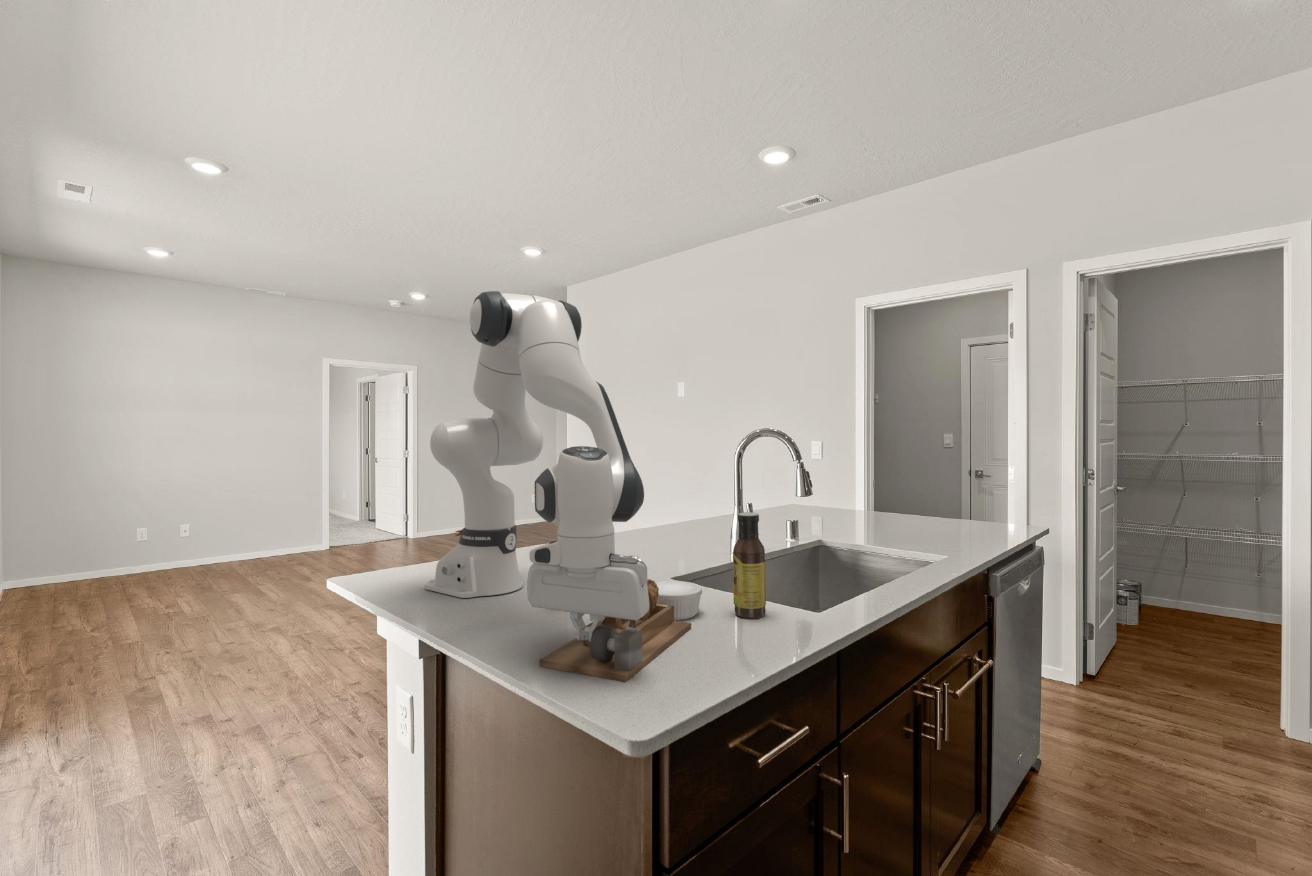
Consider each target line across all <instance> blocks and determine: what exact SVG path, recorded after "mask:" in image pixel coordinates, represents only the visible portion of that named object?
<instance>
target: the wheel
mask: <svg viewBox="0 0 1312 876" xmlns="http://www.w3.org/2000/svg"><path fill="white" fill-rule="evenodd" d="M616 634H617V633H616V630H615V629H614V628H613V627H606V626H598V627H597V628H596V629H595V630H594V632H593V634H592V637H591V641H590V653H591V656H592V658H593V659H595V660H601V661H607V662H608V661H610V660H611V659H612V658H613V656H614V654H615V646H614V636H615V635H616Z"/></svg>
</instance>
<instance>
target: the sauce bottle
mask: <svg viewBox="0 0 1312 876" xmlns="http://www.w3.org/2000/svg"><path fill="white" fill-rule="evenodd" d="M759 516H760V515H759V513H757V512H750V511H749V512H739V513H738V514H737V521H738V539H737V540H736V543H735V544H734V546H733V550H732V583H733V584H732V585H733V587H732V589H733V594H732V595H733V605H734V613H735V615H737V616H738V617H740V618H744V619H760V618H762V617H764V616H766V615H765V614H766V604H767V597H766V596H767V593H766V592H767V589H766V588H767V587H766V581H767V580H766V557H765V554H766V553H765V551H766V550H765V547H764V545H763V543H762V541H761V539H760V538H759V535H760V533H759V522H760V517H759Z"/></svg>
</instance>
